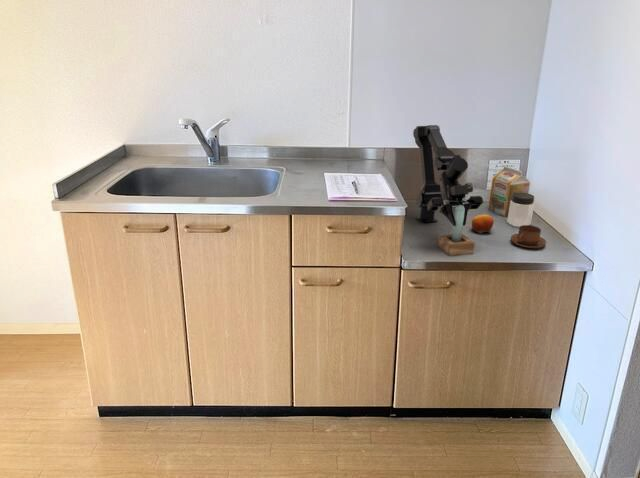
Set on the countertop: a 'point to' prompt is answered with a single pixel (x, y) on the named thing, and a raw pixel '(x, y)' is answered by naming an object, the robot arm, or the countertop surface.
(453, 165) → the robot arm
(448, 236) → the wooden square socket block
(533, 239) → the cup and saucer
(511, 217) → the jar
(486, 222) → the fruit
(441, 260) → the countertop surface
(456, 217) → the dowel
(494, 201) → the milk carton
